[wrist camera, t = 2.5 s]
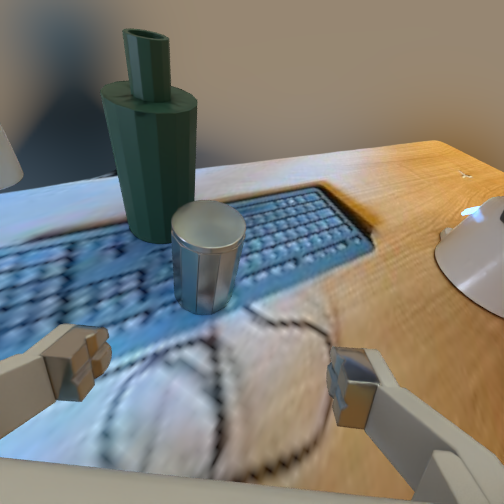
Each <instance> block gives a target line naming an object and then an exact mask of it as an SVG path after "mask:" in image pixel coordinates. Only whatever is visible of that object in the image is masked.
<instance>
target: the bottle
mask: <svg viewBox="0 0 504 504" xmlns="http://www.w3.org/2000/svg"><path fill="white" fill-rule="evenodd" d="M122 32H123V39H124V46H125V53H126V60H127V68H128V76H129V81H119V82H114V83H110V84H107V85H105V86H104V87H103V88H102V89H101V90H100V93H101V98H102V102H103V107H104V112H105V116H106V121H107V126H108V131H109V135H110V140H111V145H112V150H113V154H114V159H115V164H116V169H117V173H118V178H119V183H120V187H121V192H122V197H123V202H124V206H125V211H126V216H127V221H128V224H129V227H130V230H131V232H132V233H133V234H134V235H135V236H136V237H138V238H139V239H141V240H143V241H146V242H149V243H156V244H166V243H172V241H171V228H172V226H171V220H172V216H173V214H174V213H175V211H176V210H177V209H178V208H179V207H181V206H183V205H184V204H187V203H189V202H193V201H194V196H195V161H196V160H195V159H196V128H197V100H196V99H195V97H193V95H191V94H190V93H188V92H186V91H184V90H182V89H179V88H176V87H173V86H171V75H170V49H169V48H170V47H169V38H168V37H166V36H164V35H162V34H158V33H155V32H151V31H146V30H140V29H124V30H123V31H122Z"/></svg>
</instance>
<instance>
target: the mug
mask: <svg viewBox="0 0 504 504" xmlns="http://www.w3.org/2000/svg"><path fill="white" fill-rule="evenodd" d="M22 178H23V171H22V169H21V166H20V164H19V162H18V160H17V157H16V155H15V153H14V151H13V149H12V147H11V145H10V143H9V140H8V138H7V136H6V134H5V132H4V130H3V128H2V125H1V123H0V190H3V189H6V188H9V187H11V186H14V185H15V184H17V183H18V182H20V181H21V179H22Z"/></svg>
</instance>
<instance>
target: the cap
mask: <svg viewBox="0 0 504 504" xmlns="http://www.w3.org/2000/svg"><path fill="white" fill-rule="evenodd" d="M171 226H172V228H171V241H172V259H173V277H174V295H175V298H176V299H177V301H178V302H179V304H180V306H181V307H182V308H183V309H185V310H188V311H190V312H192V313H194V314H213V313H215V312H217V311H219V310H221V309H222V308H224V307H225V306H226V305H227V303H228V301H229V300H230V298H231V296H232V292H233V288H234V283H235V279H236V275H237V270H238V266H239V261H240V257H241V253H242V248H243V244H244V240H245V231H246V224H245V221H244V218H243V217H242V215H241V214H240V213H239V212H238V211H237V210H235V209H234V208H233V207H231V206H229V205H227V204H224V203H221V202H217V201H211V200H199V201H193V202H189V203H187V204H184V205H183V206H181V207H179V208H178V209H177V210H176V211H175V213H174V214H173V216H172V220H171Z"/></svg>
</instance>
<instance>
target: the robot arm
mask: <svg viewBox="0 0 504 504" xmlns="http://www.w3.org/2000/svg"><path fill="white" fill-rule="evenodd" d="M461 214H462V215H466V214H470V215H469V216H468V217H467V218H466V219H464V220H463V221H462V222H461V223H460V224H458V225H457V226H456V227H455V228H454V229H453V228H445V229H444V230H443V231H441V233H440V237H441V242H440V243H439V244H438V245H437V246H436V249H435V257H436V260H437V262H438V265H439V266H440V268H441V270H442V271H443V272H444V274H445V275H446V276H447V278H448V279H449V280H450V281H451V282H452V283H453V284H454V285H455V286H456V287H457V288H458V289H459V290H460V291H461V292H463V293H464V294H465V295H466V296H468V297H469V298H470V299H472V300H473V301H474V302H476V303H477V304H479V305H480V306H482V307H483V308H485V309H487V310H488V311H490V312H492V313H494V314H496V315H498V316H500V317H502V318H504V196H498V197H492V198H490V199H488V200H487V201H486V202H485V203H483V204H482V205H481V206H479V207H474V208H469V209H465V210H464V211H463V212H462V213H461ZM108 338H109V334H108V329H106V328H104V327H96V326H86V325H75V324H61V325H59V326H58V327H57V328H55V329H54V330H53V331H52V332H50V333H49V334H48V335H46V336H45V337H44V338H43V339H41V340H40V341H39V342H38V343H36V344H35V345H34V346H32V347H31V348H30V349H29V350H27V351H26V352H25V353H23V354H16V355H14V356H11V357H9V358H6V359H4V360H1V361H0V439H2V438H3V437H4V436H6V435H7V434H9V433H10V432H12V431H13V430H15V429H16V428H18V427H19V426H21V425H22V424H24V423H25V422H27V421H28V420H30V419H31V418H32V417H34V416H35V415H37V414H38V413H40V412H41V411H43V410H44V409H46V408H47V407H49V406H50V405H52V404H53V403H55V402H56V400H60V401H76V402H82V401H83V399H84V398H85V397H86V395H87V394H88V393H89V392H90V390H91V389H92V388H93V386H94V385H95V379H96V378H97V377H99V376H101V375H102V374H103V373H104V372H105V371H106V369H107V368H108V366H109V364H110V361H111V356H112V350H111V346H110V345H109V344H108V343H107V342H106V341H107V339H108ZM330 358H331V361H332V362H331V363H330V364H329V365H328V367H327V388H328V393H329V395H330V396H331V397H332V398H333V399H334V400H333V405H332V408H333V412H334V416H335V419H336V423H337V426H340V427H348V428H356V429H364V430H365V432H366V433H367V435H368V436H369V437H370V438H371V439H372V441H373V442H374V443H375V444H376V445H377V447H378V448H379V449H380V450H381V452H382V453H383V454H384V455H385V456H386V458H387V459H388V460H389V461H390V462H391V464H392V465H393V466H394V467H395V468H396V470H397V471H398V472H399V473H400V474H401V476H402V477H403V478H404V479H405V481H406V482H407V483H408V484H409V485H410V487H411V488H412V489H413V490H414V491H415V493H414V495H413V498H412V500H411V501H410V500H401V499H391V498H382V497H373V496H363V495H354V494H344V493H335V492H325V491H316V490H306V489H297V488H287V487H277V486H268V485H258V484H248V483H239V482H229V481H220V480H210V479H200V478H191V477H181V476H172V475H163V474H153V473H144V472H134V471H125V470H116V469H106V468H97V467H87V466H78V465H68V464H59V463H50V462H40V461H31V460H21V459H12V458H2V457H0V504H504V466H503V465H502V463H501V462H500V461H499V459H498V458H497V457H496V455H495V454H493V453H492V452H491V451H489V450H488V449H487V448H485V447H484V446H483V445H481V444H480V443H479V442H477V441H476V440H475V439H473V438H472V437H471V436H469V435H468V434H467V433H465V432H464V431H462V430H461V429H460V428H458V427H457V426H456V425H454V424H453V423H452V422H450V421H449V420H448V419H446V418H445V417H444V416H442V415H441V414H440V413H438V412H437V411H436V410H434V409H433V408H432V407H430V406H429V405H427V404H426V403H425V402H423V401H422V400H421V399H419V398H418V397H417V396H415V395H414V394H413V393H411V392H410V391H409V390H407V389H406V388H401V387H400V386H399V384H398V382H397V381H396V379H395V377H394V376H393V374H392V372H391V371H390V369H389V367H388V365H387V364H386V362H385V360H384V359H383V357H382V355H381V354H380V352H379V351H378V350H377V349H367V348H361V349H360V348H347V347H334V346H333V347H332V349H331V352H330Z"/></svg>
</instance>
